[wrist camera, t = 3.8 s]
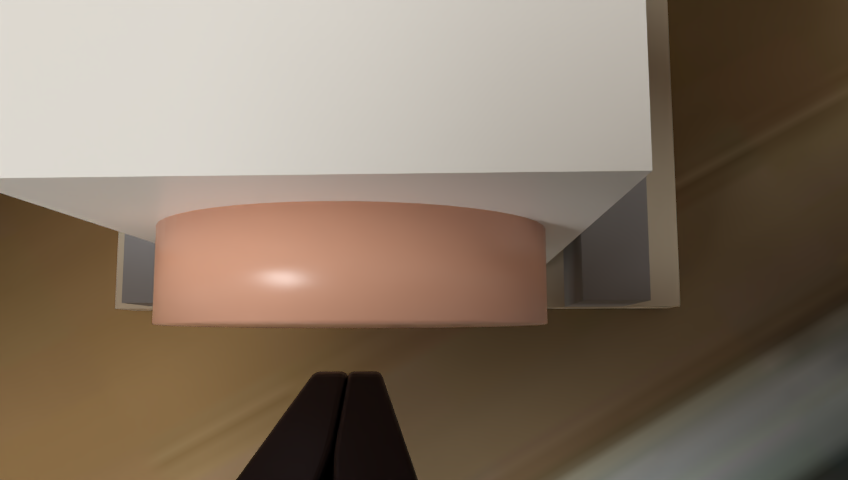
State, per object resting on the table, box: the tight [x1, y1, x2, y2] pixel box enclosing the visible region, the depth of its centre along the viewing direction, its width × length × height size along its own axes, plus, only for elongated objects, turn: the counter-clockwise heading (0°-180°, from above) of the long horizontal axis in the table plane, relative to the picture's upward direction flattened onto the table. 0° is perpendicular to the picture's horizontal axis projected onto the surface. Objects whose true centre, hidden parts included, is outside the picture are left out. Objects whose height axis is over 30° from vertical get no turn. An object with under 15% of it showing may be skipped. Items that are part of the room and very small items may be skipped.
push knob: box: [0, 0, 652, 328], centre depth 12 cm, size 6×6×10 cm
